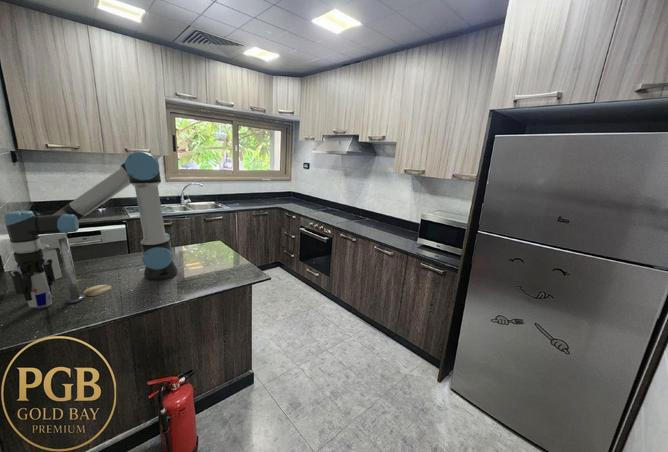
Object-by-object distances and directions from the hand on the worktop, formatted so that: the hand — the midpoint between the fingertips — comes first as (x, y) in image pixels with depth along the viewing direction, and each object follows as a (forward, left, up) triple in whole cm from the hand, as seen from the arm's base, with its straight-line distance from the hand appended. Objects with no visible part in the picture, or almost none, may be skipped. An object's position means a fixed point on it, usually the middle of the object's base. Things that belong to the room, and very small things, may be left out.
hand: (40, 302), depth 111 cm
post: (-8, -7, -2) cm, 11 cm away
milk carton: (+22, -22, -2) cm, 31 cm away
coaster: (-10, -15, -2) cm, 18 cm away
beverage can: (0, 0, -2) cm, 2 cm away
